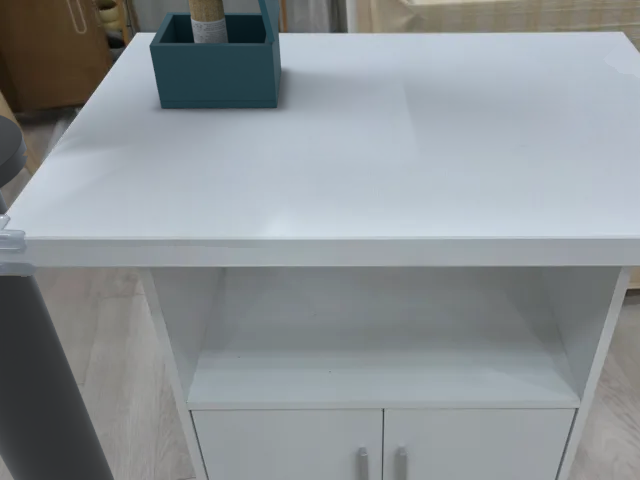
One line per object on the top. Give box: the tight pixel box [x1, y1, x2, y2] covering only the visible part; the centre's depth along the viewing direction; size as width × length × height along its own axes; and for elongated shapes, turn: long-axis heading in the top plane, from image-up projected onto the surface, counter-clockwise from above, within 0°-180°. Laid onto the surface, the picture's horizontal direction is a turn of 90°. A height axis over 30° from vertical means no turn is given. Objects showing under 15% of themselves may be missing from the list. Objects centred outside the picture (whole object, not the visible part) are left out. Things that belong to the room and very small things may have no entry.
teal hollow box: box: [149, 11, 282, 109], centre depth 90 cm, size 15×13×8 cm
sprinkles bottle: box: [188, 0, 228, 43], centre depth 88 cm, size 5×5×13 cm
